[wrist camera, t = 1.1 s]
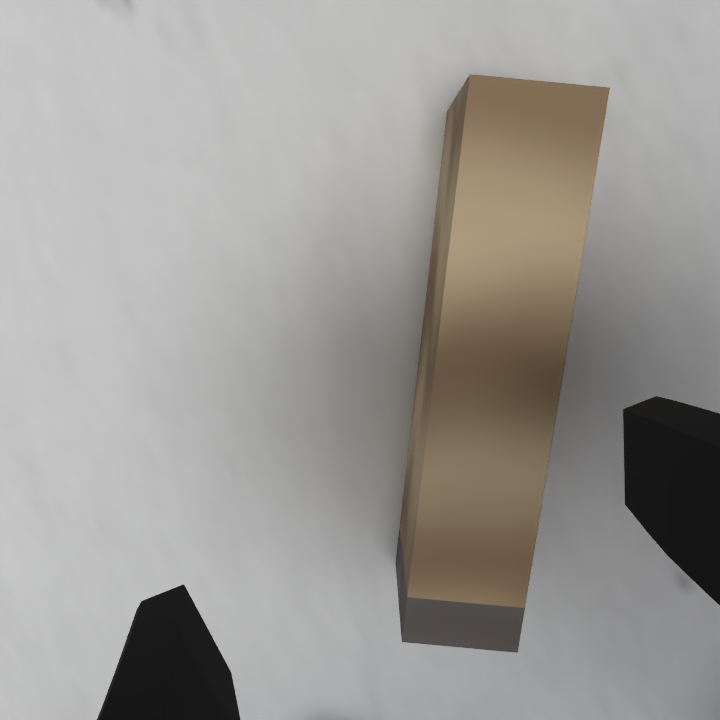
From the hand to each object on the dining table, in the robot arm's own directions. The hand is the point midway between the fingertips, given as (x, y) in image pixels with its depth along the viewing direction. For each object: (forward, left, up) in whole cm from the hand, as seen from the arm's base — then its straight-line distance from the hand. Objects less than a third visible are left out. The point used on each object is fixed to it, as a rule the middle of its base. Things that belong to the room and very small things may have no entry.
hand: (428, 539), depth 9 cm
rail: (-3, -1, -12) cm, 12 cm away
